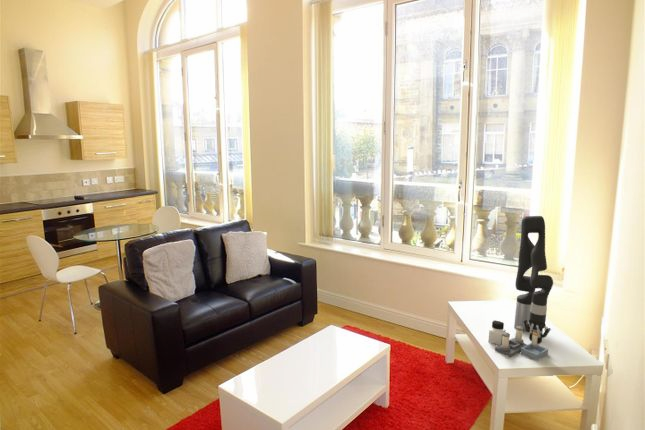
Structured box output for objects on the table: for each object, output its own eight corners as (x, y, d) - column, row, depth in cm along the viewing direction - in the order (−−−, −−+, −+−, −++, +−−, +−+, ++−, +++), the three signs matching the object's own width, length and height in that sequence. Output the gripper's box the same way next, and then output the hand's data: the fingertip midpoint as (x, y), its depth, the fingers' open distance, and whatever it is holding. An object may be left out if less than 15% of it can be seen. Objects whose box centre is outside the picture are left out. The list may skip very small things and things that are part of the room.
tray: (531, 347, 228) (531, 342, 227) (547, 354, 220) (548, 349, 220) (520, 353, 221) (520, 348, 221) (537, 361, 214) (537, 355, 214)
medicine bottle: (501, 345, 230) (503, 325, 228) (488, 341, 234) (489, 322, 232) (504, 340, 236) (506, 321, 233) (491, 337, 240) (493, 317, 238)
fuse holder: (512, 341, 235) (514, 323, 233) (528, 347, 228) (530, 329, 226) (494, 350, 225) (495, 331, 223) (509, 357, 217) (511, 338, 215)
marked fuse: (533, 343, 222) (534, 327, 221) (539, 346, 219) (541, 330, 218) (529, 345, 220) (531, 329, 219) (536, 347, 217) (537, 331, 216)
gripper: (555, 314, 213) (552, 345, 216) (529, 305, 224) (526, 335, 227) (548, 317, 209) (544, 349, 212) (521, 308, 220) (518, 338, 223)
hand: (535, 341), depth 220 cm, fingers closed on marked fuse, 3 cm apart
